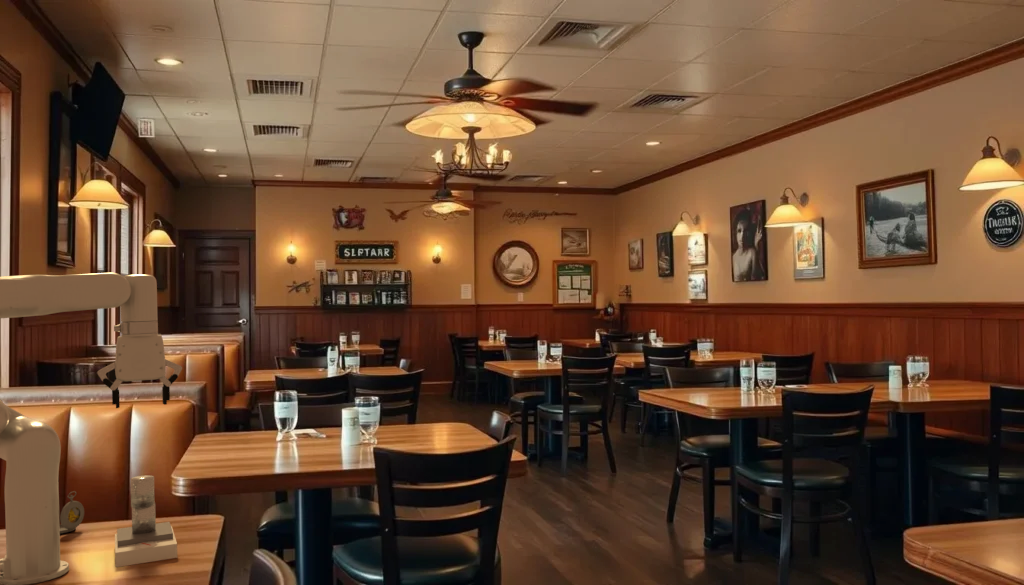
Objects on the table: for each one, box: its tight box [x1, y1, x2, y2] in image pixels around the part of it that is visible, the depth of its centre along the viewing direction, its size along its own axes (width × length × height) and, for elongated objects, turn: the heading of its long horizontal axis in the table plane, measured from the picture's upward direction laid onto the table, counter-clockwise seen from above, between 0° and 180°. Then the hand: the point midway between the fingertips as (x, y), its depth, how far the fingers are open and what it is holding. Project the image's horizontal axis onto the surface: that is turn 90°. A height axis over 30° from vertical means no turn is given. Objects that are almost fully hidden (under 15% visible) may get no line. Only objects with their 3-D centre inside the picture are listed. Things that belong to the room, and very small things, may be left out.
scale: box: [114, 521, 178, 568], centre depth 180 cm, size 12×16×4 cm
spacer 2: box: [131, 501, 157, 534], centre depth 181 cm, size 5×5×6 cm
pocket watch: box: [59, 490, 85, 535], centre depth 198 cm, size 8×8×10 cm
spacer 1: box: [130, 474, 155, 508], centre depth 181 cm, size 5×5×6 cm
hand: (141, 405), depth 182 cm, fingers open, 9 cm apart
